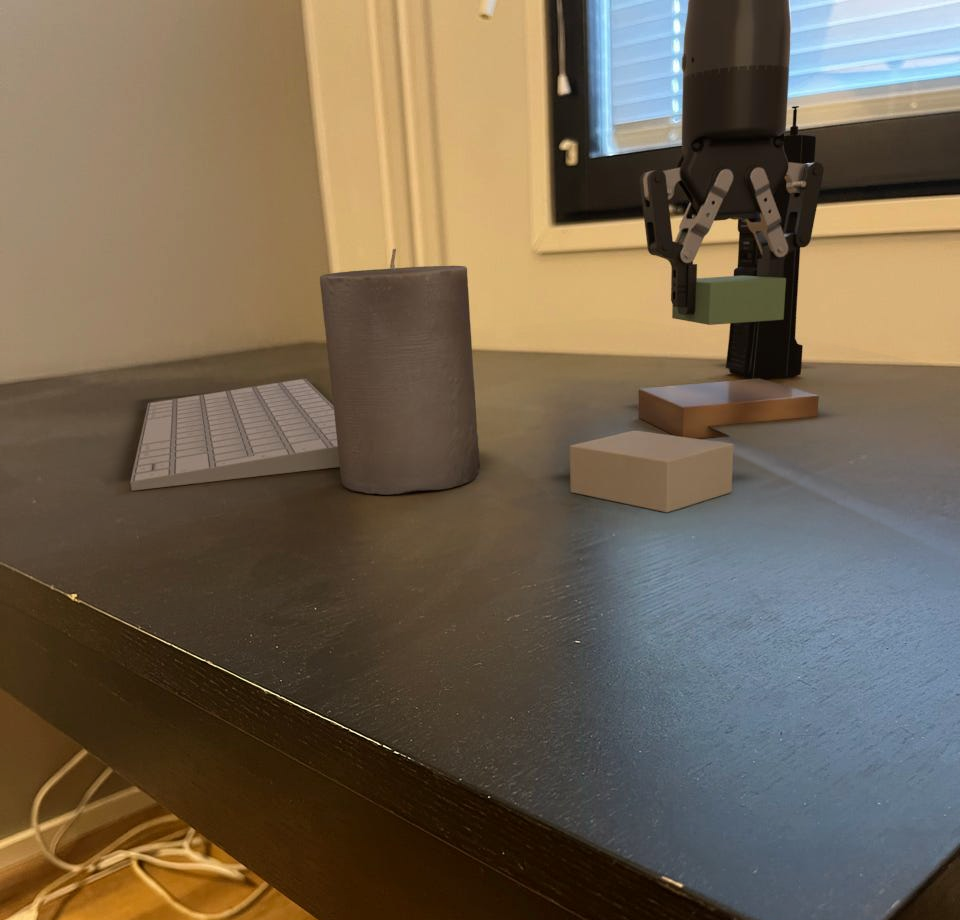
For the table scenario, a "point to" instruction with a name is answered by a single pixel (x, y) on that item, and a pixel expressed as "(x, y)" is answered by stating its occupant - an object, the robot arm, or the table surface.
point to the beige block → (651, 469)
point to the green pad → (737, 300)
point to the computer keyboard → (236, 435)
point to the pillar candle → (402, 377)
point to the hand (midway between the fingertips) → (726, 310)
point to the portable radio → (773, 342)
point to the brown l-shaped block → (721, 405)
